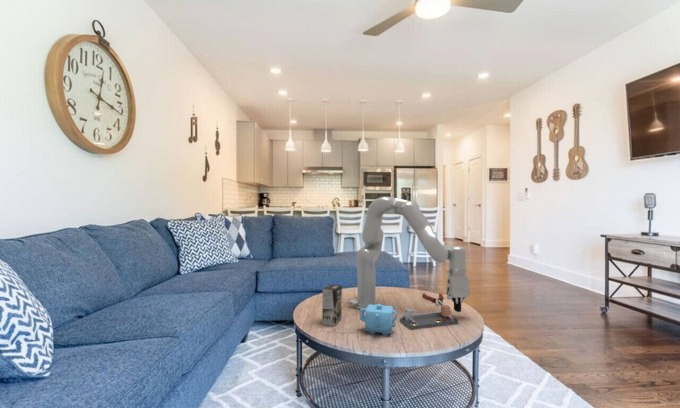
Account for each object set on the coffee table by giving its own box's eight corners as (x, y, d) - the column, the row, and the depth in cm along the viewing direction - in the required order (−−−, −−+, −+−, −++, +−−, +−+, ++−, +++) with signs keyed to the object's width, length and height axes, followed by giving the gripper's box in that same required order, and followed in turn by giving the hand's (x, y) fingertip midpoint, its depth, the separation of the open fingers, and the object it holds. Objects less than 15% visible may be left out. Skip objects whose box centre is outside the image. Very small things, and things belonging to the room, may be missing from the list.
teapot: (398, 325, 139) (398, 300, 139) (396, 342, 121) (396, 313, 121) (363, 322, 142) (363, 297, 142) (356, 338, 125) (356, 310, 125)
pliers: (430, 308, 164) (430, 303, 164) (421, 296, 184) (421, 292, 184) (452, 308, 163) (452, 303, 163) (441, 297, 183) (441, 292, 183)
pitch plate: (410, 329, 134) (410, 315, 134) (399, 321, 143) (399, 307, 143) (458, 323, 140) (458, 309, 141) (444, 316, 150) (444, 303, 150)
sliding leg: (448, 319, 141) (448, 309, 141) (440, 314, 147) (440, 305, 147) (454, 318, 142) (454, 308, 142) (446, 314, 148) (446, 304, 148)
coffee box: (335, 326, 137) (335, 290, 137) (321, 324, 139) (321, 288, 139) (342, 319, 146) (342, 285, 146) (329, 317, 148) (329, 283, 148)
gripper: (448, 275, 142) (448, 315, 142) (476, 273, 147) (476, 312, 146) (439, 271, 150) (439, 310, 149) (465, 269, 154) (465, 307, 154)
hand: (457, 310), depth 148 cm, fingers closed
